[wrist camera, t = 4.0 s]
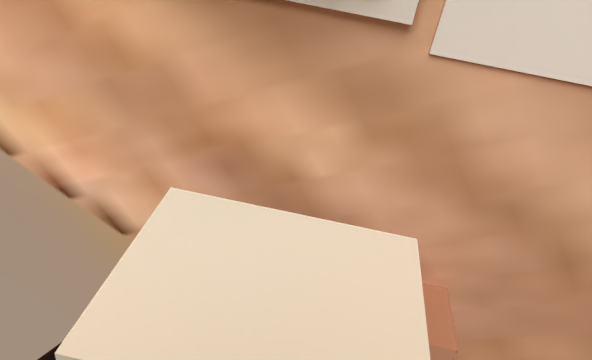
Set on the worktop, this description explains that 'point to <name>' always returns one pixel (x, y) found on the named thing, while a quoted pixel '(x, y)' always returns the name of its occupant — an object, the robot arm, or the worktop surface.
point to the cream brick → (254, 290)
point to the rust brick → (439, 323)
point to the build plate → (371, 8)
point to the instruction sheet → (520, 36)
